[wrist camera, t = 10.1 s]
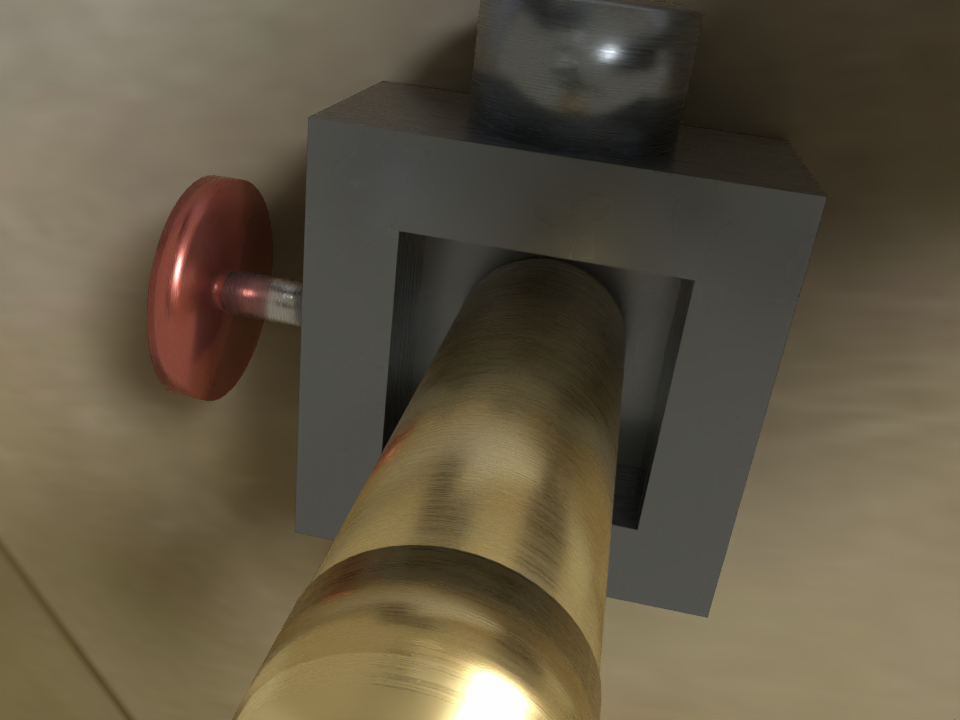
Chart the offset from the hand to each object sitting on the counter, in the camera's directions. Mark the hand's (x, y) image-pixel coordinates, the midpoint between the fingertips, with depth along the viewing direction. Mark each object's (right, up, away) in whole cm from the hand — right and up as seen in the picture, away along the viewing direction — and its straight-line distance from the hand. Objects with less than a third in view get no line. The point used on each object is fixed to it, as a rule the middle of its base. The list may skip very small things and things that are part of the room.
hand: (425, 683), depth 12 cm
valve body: (+1, +6, +15) cm, 16 cm away
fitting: (+2, +5, +12) cm, 13 cm away
